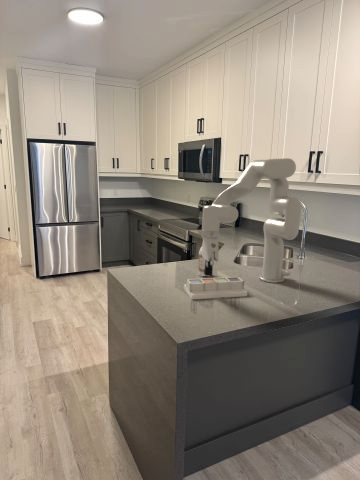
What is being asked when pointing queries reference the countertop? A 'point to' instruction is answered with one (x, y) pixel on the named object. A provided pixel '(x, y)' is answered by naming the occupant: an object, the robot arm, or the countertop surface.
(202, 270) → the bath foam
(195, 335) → the countertop surface
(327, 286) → the countertop surface
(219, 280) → the key
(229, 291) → the white compartment tray
